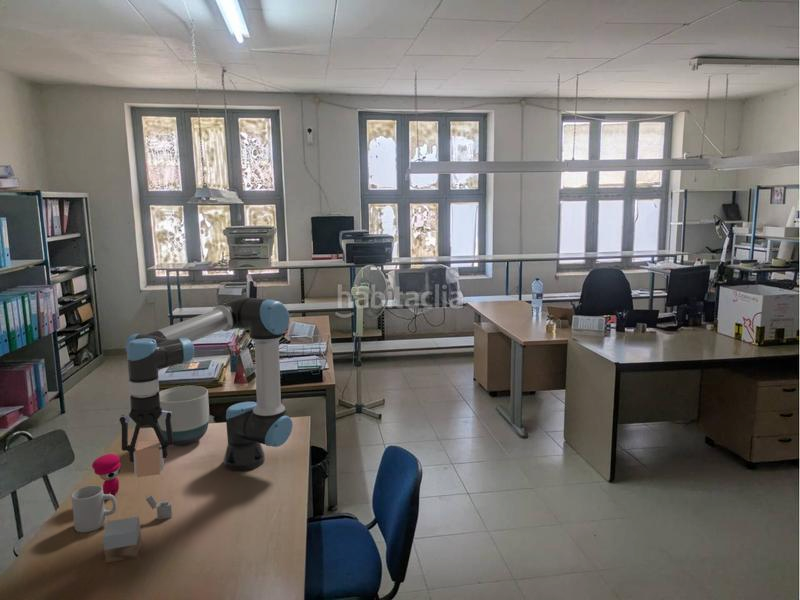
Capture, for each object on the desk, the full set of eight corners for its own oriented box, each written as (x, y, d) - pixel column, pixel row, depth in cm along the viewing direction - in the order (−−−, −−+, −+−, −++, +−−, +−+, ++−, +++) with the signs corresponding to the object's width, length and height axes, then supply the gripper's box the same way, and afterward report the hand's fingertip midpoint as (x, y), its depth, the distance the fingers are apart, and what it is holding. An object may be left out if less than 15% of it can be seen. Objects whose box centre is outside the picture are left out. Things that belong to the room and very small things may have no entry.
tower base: (141, 541, 160) (140, 529, 160) (137, 558, 153) (136, 545, 152) (111, 546, 158) (109, 534, 157) (105, 563, 151) (104, 550, 150)
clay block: (162, 465, 162) (160, 439, 160) (160, 474, 156) (158, 447, 155) (139, 467, 160) (138, 442, 158) (137, 477, 154) (135, 450, 153)
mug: (70, 534, 163) (67, 501, 161) (79, 519, 171) (76, 486, 170) (114, 529, 166) (111, 495, 164) (121, 514, 174) (118, 482, 172)
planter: (151, 442, 228) (147, 393, 224) (198, 428, 241) (195, 382, 238) (169, 458, 213) (165, 406, 209) (219, 443, 227) (216, 394, 223)
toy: (111, 505, 179) (107, 462, 177) (89, 502, 181) (85, 460, 178) (129, 492, 188) (125, 451, 185) (108, 489, 189) (104, 449, 187)
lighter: (172, 514, 174) (170, 491, 173) (171, 517, 172) (169, 494, 171) (148, 518, 172) (146, 494, 171) (147, 521, 170) (145, 497, 169)
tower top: (140, 528, 160) (139, 516, 159) (136, 544, 152) (135, 531, 152) (109, 533, 158) (108, 521, 157) (104, 550, 150) (103, 536, 149)
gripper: (181, 386, 161) (185, 460, 164) (109, 392, 155) (115, 468, 158) (179, 394, 154) (184, 471, 157) (104, 400, 148) (110, 480, 151)
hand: (149, 469), depth 158 cm, fingers closed on clay block, 6 cm apart
